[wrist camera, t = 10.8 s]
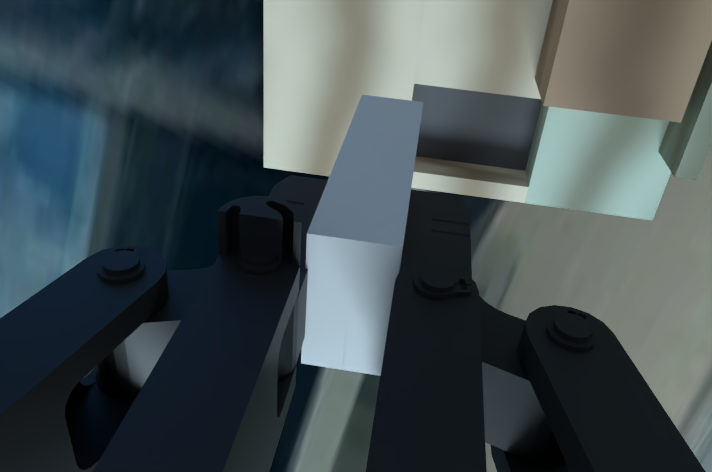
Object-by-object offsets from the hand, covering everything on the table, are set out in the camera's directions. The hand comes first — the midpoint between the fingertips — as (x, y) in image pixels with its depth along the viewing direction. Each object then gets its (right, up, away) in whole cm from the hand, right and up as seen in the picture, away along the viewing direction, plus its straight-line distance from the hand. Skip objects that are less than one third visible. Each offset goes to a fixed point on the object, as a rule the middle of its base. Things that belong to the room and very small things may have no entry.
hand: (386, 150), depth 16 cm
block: (+11, +8, +14) cm, 20 cm away
